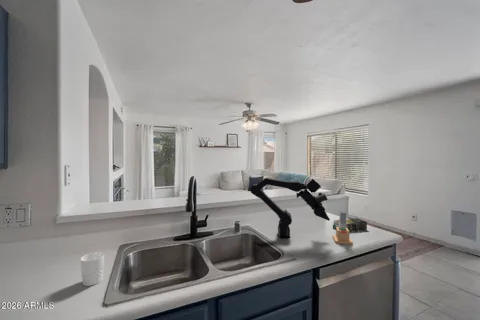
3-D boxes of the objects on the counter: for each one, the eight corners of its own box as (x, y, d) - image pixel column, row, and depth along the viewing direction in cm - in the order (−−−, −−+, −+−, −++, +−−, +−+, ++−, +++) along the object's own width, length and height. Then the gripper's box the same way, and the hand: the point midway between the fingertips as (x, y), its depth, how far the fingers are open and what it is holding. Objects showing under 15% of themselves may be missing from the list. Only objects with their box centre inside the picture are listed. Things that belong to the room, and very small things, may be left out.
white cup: (108, 275, 92) (108, 251, 91) (97, 287, 84) (96, 261, 83) (89, 275, 91) (88, 252, 91) (75, 287, 83) (75, 261, 83)
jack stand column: (340, 232, 127) (340, 212, 126) (339, 230, 130) (339, 211, 129) (346, 232, 126) (346, 213, 126) (344, 231, 129) (345, 211, 129)
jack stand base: (335, 243, 125) (335, 231, 125) (332, 237, 134) (332, 226, 133) (352, 244, 123) (353, 232, 123) (348, 238, 131) (349, 227, 131)
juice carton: (340, 232, 142) (341, 223, 142) (331, 228, 151) (331, 219, 151) (367, 230, 146) (367, 221, 146) (356, 226, 156) (356, 217, 156)
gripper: (320, 191, 121) (342, 213, 119) (317, 186, 139) (335, 205, 137) (305, 205, 123) (326, 226, 121) (303, 198, 141) (321, 216, 139)
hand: (327, 217), depth 130 cm, fingers open, 9 cm apart
